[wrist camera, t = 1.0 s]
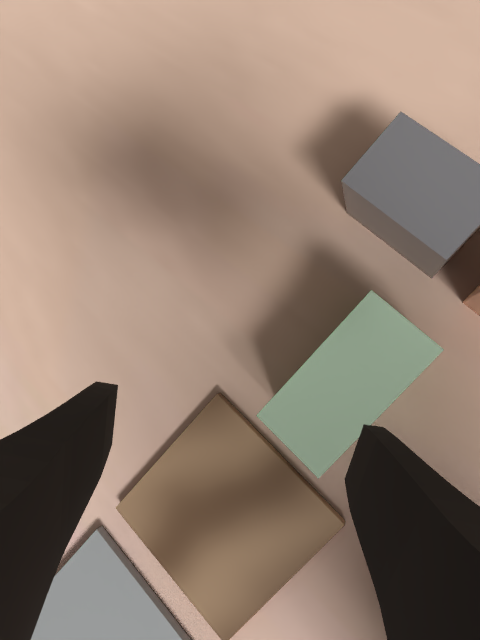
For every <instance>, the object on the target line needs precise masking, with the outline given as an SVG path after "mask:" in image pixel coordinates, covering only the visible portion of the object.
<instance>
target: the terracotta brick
mask: <svg viewBox="0 0 480 640" xmlns="http://www.w3.org/2000/svg"><path fill="white" fill-rule="evenodd" d="M462 303H464V304H465V305H466V306H468V307H469V308H470V309H472V310H473V311H474V312H475V313H477V314H478V315H479V316H480V285H479V286H478V287H477V288H476V289H475V290H474V291H473V292H472V293H471V294H470V295H469V296H468V297H467V298H466V299H465V300H464V301H463V302H462Z"/></svg>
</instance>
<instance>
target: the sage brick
mask: <svg viewBox="0 0 480 640" xmlns="http://www.w3.org/2000/svg"><path fill="white" fill-rule="evenodd" d="M443 350H444V349H443V348H441V347H440V346H439V345H438V344H437V343H435V342H434V341H433V340H432V339H430V338H429V337H428V336H427V335H426V334H424V333H423V332H422V331H421V330H420V329H418V328H417V327H416V326H415V325H413V324H412V323H411V322H410V321H409V320H407V319H406V318H405V317H404V316H402V315H401V314H400V313H399V312H398V311H396V310H395V309H394V308H393V307H392V306H390V305H389V304H388V303H387V302H385V301H384V300H383V299H382V298H381V297H379V296H378V295H377V294H376V293H374V292H373V291H372V290H371V291H370V292H369V293H368V294H367V295H366V296H365V298H364V299H363V300H362V301H361V302H360V303H359V304H358V305H357V306H356V307H355V308H354V310H353V311H352V312H351V313H350V314H349V315H348V316H347V317H346V318H345V319H344V320H343V322H342V323H341V324H340V325H339V326H338V327H337V328H336V329H335V330H334V331H333V332H332V334H331V335H330V336H329V337H328V338H327V339H326V340H325V341H324V342H323V343H322V344H321V346H320V347H319V348H318V349H317V350H316V351H315V352H314V353H313V354H312V355H311V356H310V358H309V359H308V360H307V361H306V362H305V363H304V364H303V365H302V366H301V367H300V368H299V370H298V371H297V372H296V373H295V374H294V375H293V376H292V377H291V378H290V379H289V380H288V382H287V383H286V384H285V385H284V386H283V387H282V388H281V389H280V390H279V391H278V392H277V394H276V395H275V396H274V397H273V398H272V399H271V400H270V401H269V402H268V403H267V404H266V406H265V407H264V408H263V409H262V410H261V411H260V412H259V413H258V414H257V415H256V416H257V417H258V418H259V419H260V420H261V421H262V422H263V423H264V424H265V425H266V426H267V427H268V428H269V429H270V430H271V431H272V432H273V433H274V434H275V435H276V436H277V437H278V438H279V439H280V440H281V441H282V442H283V443H284V444H285V445H286V446H287V447H288V448H289V449H290V450H291V451H292V452H293V453H294V454H295V455H296V456H297V457H298V458H299V459H300V460H301V461H302V462H303V463H304V464H305V465H306V467H307V468H308V469H309V470H310V471H311V472H312V473H313V474H314V475H315V476H316V477H317V478H318V479H319V478H320V477H321V476H322V475H323V474H324V473H325V472H326V470H327V469H328V468H329V467H330V466H331V465H332V464H333V463H334V462H335V461H336V460H337V459H338V458H339V457H340V456H341V455H342V454H343V453H344V452H345V451H346V450H347V449H348V448H349V447H350V446H351V445H352V444H353V443H354V442H355V441H356V440H357V439H358V438H359V437H360V434H361V431H362V428H363V425H364V424H365V425H371V424H372V423H373V422H374V421H375V420H376V419H377V418H378V417H379V416H380V415H381V414H382V413H383V412H384V411H385V410H386V409H387V408H388V407H389V406H390V405H391V404H392V403H393V402H394V401H395V400H396V399H397V398H398V397H399V395H400V394H401V393H402V392H403V391H404V390H405V389H406V388H407V387H408V386H409V385H410V384H411V383H412V382H413V381H414V380H415V379H416V378H417V377H418V376H419V375H420V374H421V373H422V372H423V371H424V370H425V369H426V368H427V367H428V366H429V365H430V364H431V363H432V362H433V361H434V360H435V359H436V357H437V356H438V355H439V354H440V353H441V352H442V351H443Z"/></svg>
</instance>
